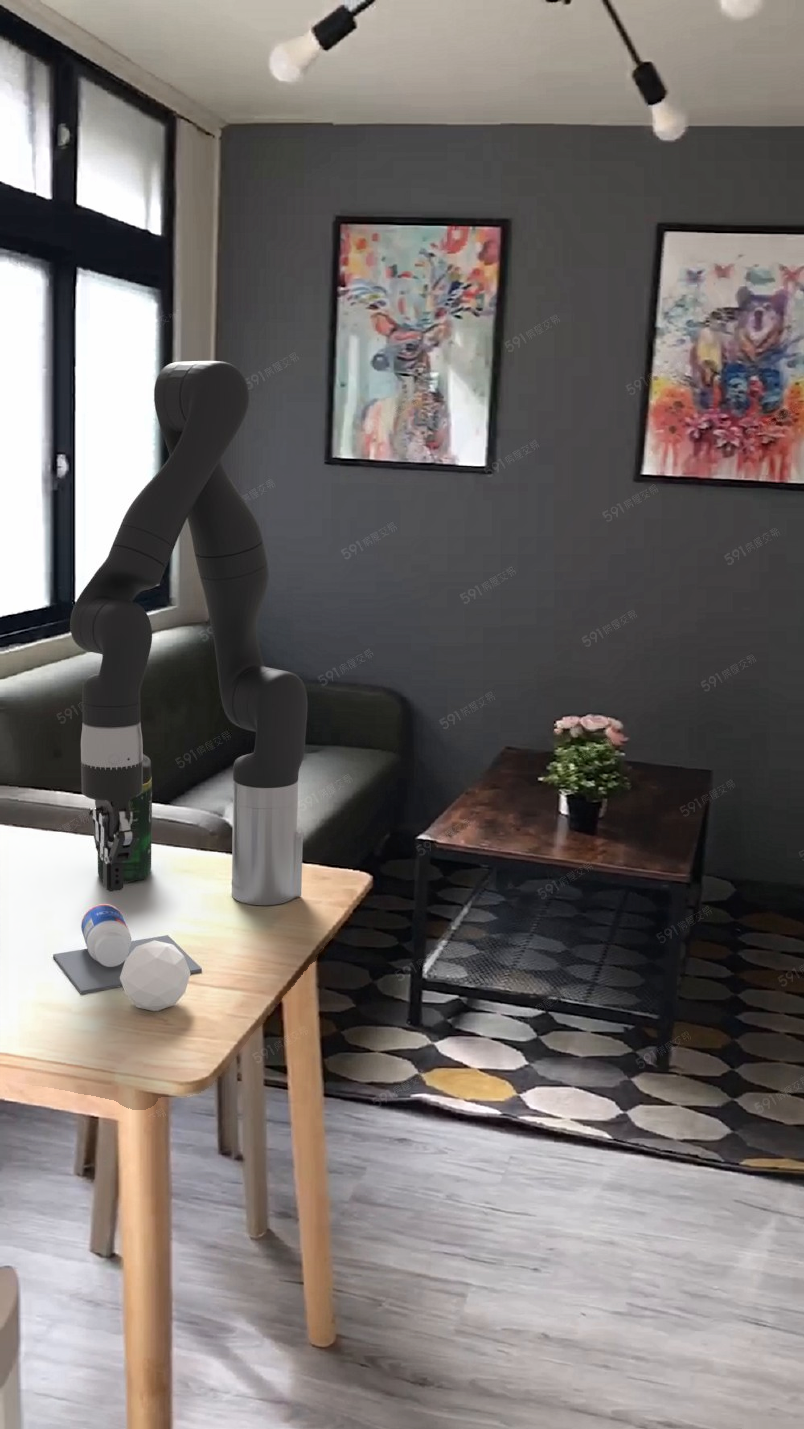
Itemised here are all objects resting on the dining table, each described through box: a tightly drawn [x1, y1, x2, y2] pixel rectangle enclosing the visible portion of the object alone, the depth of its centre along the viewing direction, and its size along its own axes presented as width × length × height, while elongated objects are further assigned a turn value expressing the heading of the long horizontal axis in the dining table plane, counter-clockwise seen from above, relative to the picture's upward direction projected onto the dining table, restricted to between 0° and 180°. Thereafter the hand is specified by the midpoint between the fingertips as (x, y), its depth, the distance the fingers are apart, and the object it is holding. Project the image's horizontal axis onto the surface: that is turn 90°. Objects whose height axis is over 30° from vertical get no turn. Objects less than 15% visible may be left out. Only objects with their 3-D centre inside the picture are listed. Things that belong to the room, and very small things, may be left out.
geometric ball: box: [120, 940, 191, 1012], centre depth 144 cm, size 8×8×8 cm
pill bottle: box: [80, 903, 132, 967], centre depth 156 cm, size 6×5×10 cm
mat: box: [52, 934, 203, 995], centre depth 156 cm, size 15×12×1 cm
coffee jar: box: [97, 753, 153, 884], centre depth 187 cm, size 10×8×19 cm
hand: (113, 889), depth 161 cm, fingers closed
